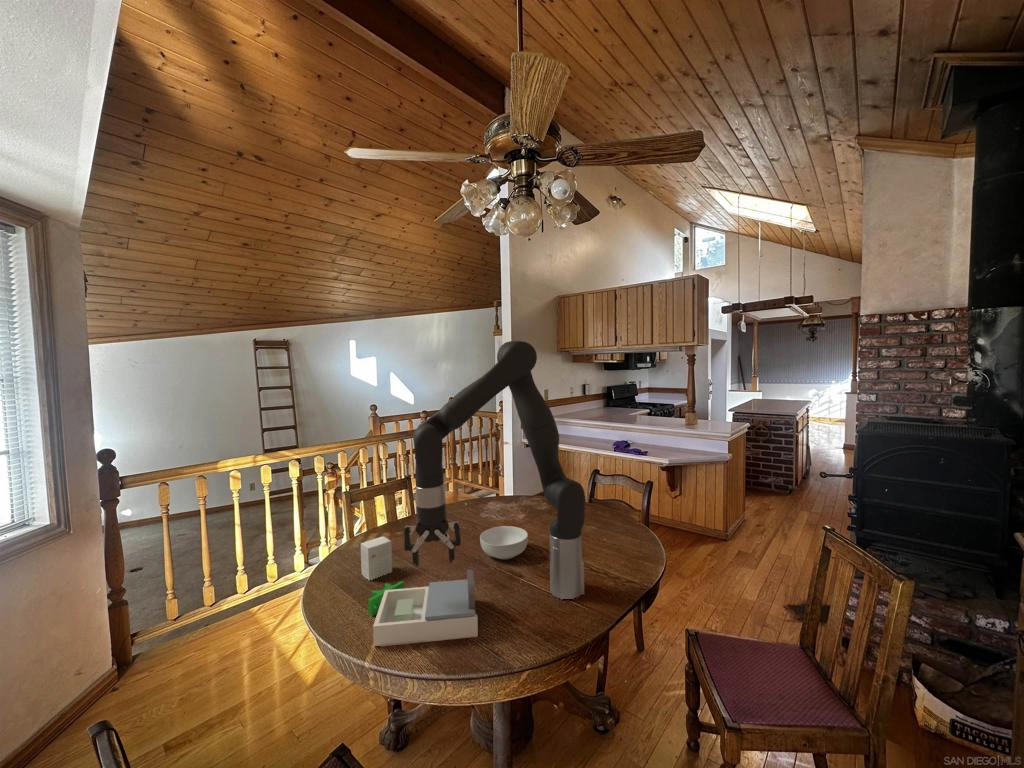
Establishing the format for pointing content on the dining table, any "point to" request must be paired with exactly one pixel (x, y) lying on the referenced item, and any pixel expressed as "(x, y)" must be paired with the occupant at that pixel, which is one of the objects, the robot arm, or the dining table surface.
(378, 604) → the pipe clamp
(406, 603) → the pale green block
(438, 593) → the lid
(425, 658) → the dining table surface
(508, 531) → the cereal bowl
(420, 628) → the housing
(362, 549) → the small box
